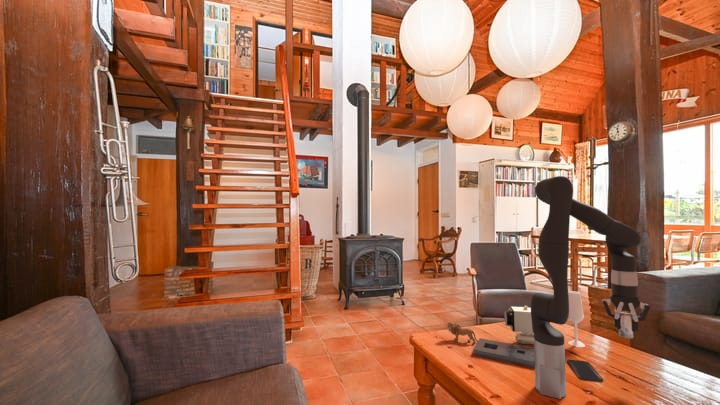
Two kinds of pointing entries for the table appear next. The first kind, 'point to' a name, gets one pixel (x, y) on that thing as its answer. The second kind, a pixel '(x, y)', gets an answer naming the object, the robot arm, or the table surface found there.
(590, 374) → the phone
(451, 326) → the lion figurine
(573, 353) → the table surface
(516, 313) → the security camera
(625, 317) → the flashlight
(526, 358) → the grey board with holes
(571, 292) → the champagne flute
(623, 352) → the table surface
